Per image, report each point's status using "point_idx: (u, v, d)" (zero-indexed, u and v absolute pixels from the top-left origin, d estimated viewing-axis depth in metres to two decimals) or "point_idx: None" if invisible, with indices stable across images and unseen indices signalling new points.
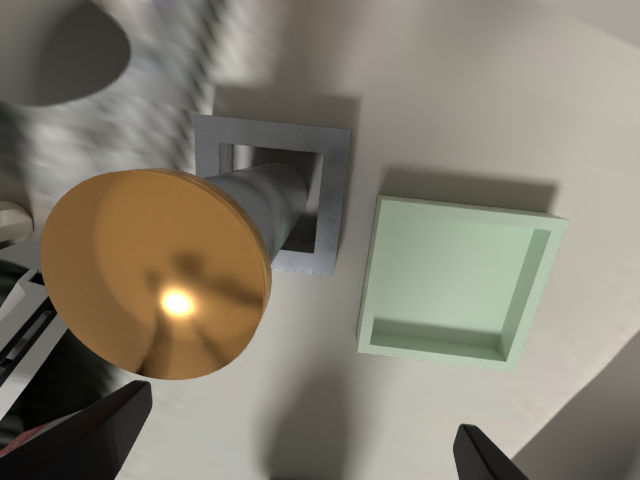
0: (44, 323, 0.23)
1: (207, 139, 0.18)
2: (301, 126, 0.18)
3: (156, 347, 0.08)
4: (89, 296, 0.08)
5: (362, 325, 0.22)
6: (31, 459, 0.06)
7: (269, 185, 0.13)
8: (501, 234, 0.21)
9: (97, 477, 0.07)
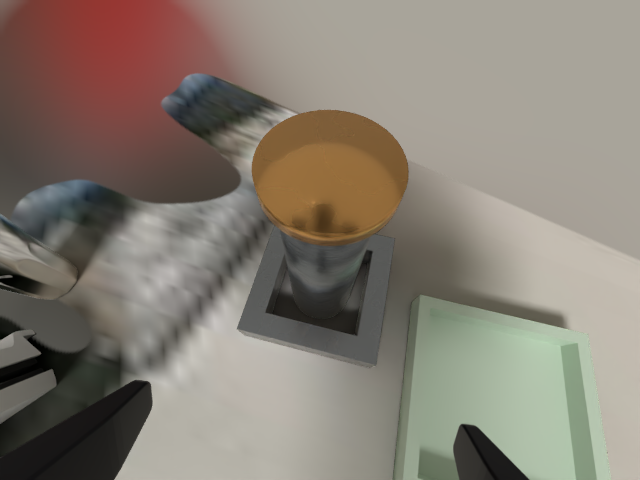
0: (9, 382, 0.18)
1: None
2: None
3: (319, 203, 0.10)
4: (283, 164, 0.11)
5: (407, 442, 0.18)
6: (31, 459, 0.06)
7: None
8: (532, 352, 0.22)
9: (97, 477, 0.07)
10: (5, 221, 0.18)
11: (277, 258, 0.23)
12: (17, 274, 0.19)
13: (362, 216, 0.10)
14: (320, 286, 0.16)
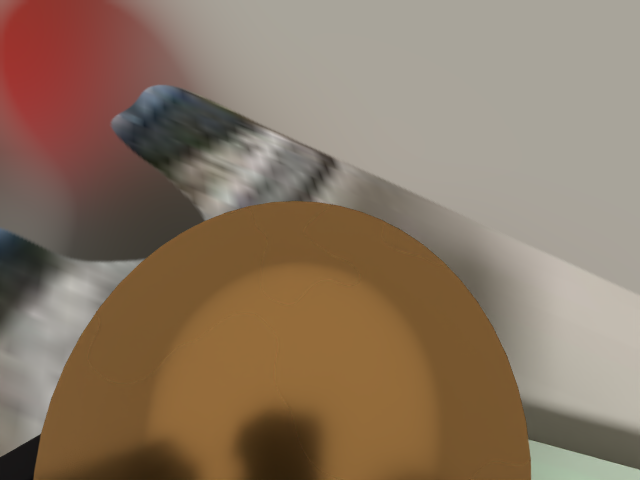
0: None
1: None
2: None
3: None
4: (146, 397, 0.04)
5: None
6: (31, 459, 0.06)
7: None
8: None
9: None
10: None
11: None
12: None
13: None
14: None
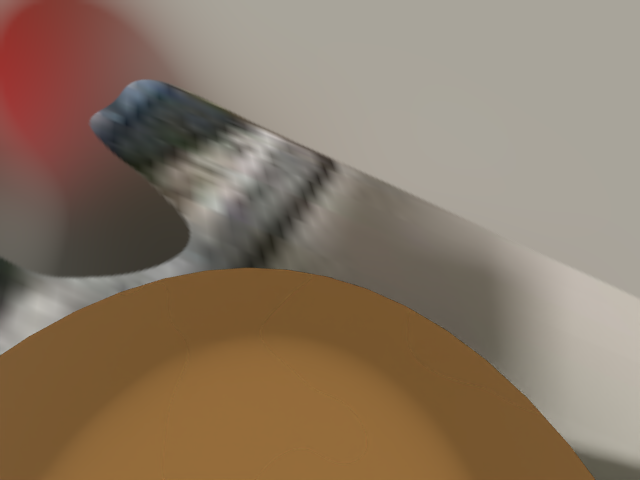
0: None
1: None
2: None
3: None
4: None
5: None
6: None
7: None
8: None
9: None
10: None
11: None
12: None
13: None
14: None
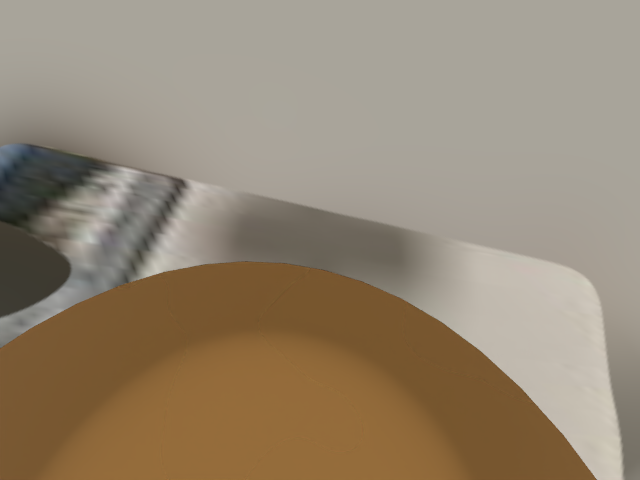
0: None
1: None
2: None
3: None
4: None
5: None
6: None
7: None
8: None
9: None
10: None
11: None
12: None
13: None
14: None
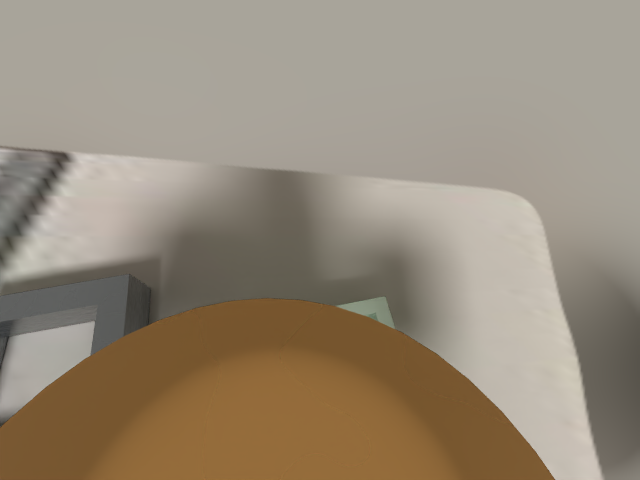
0: None
1: None
2: (72, 285, 0.17)
3: None
4: None
5: None
6: None
7: None
8: None
9: None
10: None
11: None
12: None
13: None
14: None
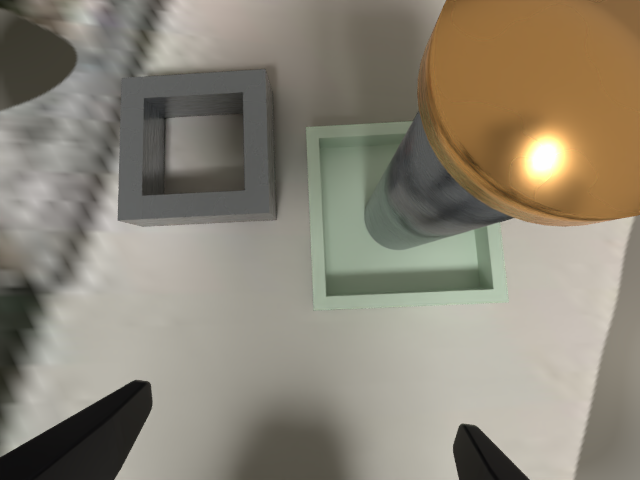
0: None
1: (133, 97, 0.20)
2: (219, 73, 0.20)
3: (566, 149, 0.05)
4: (497, 49, 0.05)
5: (312, 271, 0.18)
6: (31, 459, 0.06)
7: None
8: None
9: (97, 477, 0.07)
10: None
11: (136, 133, 0.19)
12: None
13: None
14: (430, 234, 0.12)
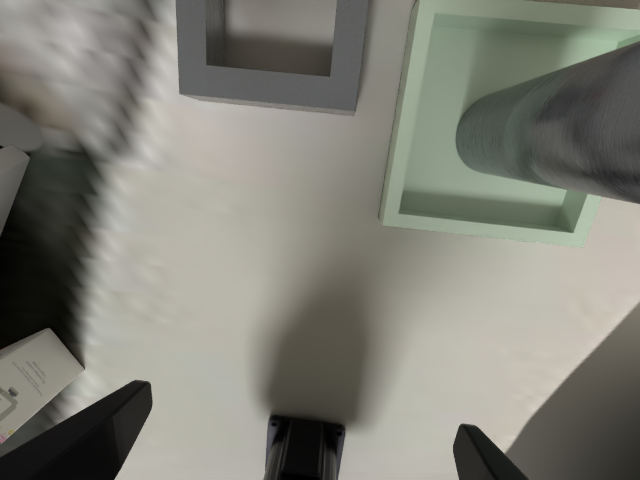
0: None
1: None
2: None
3: None
4: None
5: (390, 186, 0.17)
6: (31, 459, 0.06)
7: None
8: (572, 59, 0.16)
9: (97, 477, 0.07)
10: None
11: None
12: None
13: None
14: (567, 188, 0.11)
